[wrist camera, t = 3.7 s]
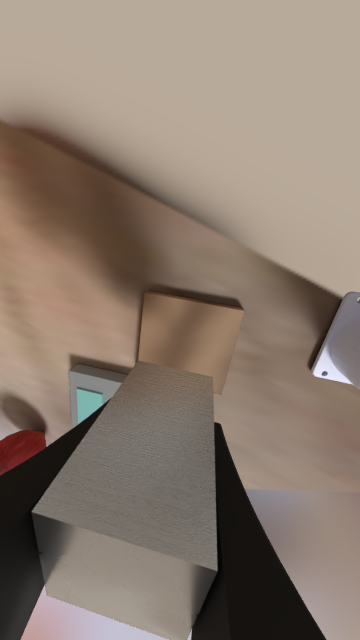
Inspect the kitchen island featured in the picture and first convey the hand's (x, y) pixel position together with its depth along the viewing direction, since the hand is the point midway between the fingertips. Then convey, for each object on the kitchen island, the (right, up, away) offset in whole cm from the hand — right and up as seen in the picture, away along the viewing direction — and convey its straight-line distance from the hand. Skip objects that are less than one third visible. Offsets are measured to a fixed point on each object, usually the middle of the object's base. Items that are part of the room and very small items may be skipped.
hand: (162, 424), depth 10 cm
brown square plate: (+2, +3, +9) cm, 10 cm away
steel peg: (0, +1, +2) cm, 2 cm away
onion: (-19, -11, +17) cm, 28 cm away
